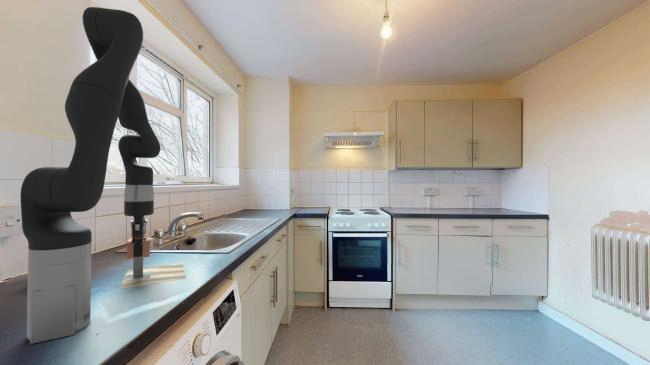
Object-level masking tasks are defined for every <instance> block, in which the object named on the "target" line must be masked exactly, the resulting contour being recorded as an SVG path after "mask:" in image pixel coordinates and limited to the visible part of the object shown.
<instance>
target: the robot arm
mask: <svg viewBox="0 0 650 365" xmlns="http://www.w3.org/2000/svg"><path fill="white" fill-rule="evenodd" d="M82 25H83V29H84V31H85V32H84V33H85V35H86V37H87V41H88V42H89V45H90V47H91V49H92V52H93V54H94V57H95V59H96V61H94V62H93V63H92V64H90V65H88V67H86V68H85V69H83V70H82V71H81V72H79V74H77V75H76V76H75V77H74V79H73V81H72V83H71V85H70V88H69V90H68V93H67V94H68V95H67V97H66V99H65V104H64V111H65V115H66V118H67V121H68V124H69V125H70V127H71V130H72V132H73V135H74V138H75V146H74V151H73V155H72V156H71V157H72V158H71V161H70V162H69V163H70V164H69V165H68V166H50V167H49V166H43V167H39V168H38V167H37V168H36V169H33V170H31V171H30V172H28V173H27V174H26V176H25V177H24V179H23V180H22V184H21V188H20V212H21V214H20V215H21V227H22V233H23V235H24V237H25V239H26V240H27V243H28V244H27V245H28V248H27V249H28V251H27V252H28V255H27V261H28V262H27V304H26V306H27V307H26V321H27V322H26V339H27V340H28V341H29V345H31V344H35V343H42V342H47V341H50V340H54V339H55V340H56V339H60V338H64V337H69V336H73V335H74V336H75V334H76V333H77V332H78V331H80V330H82V329H85V327H87V326H88V325H89V324H90V322H91V307H92V305H91V300H92V298H91V297H92V296H91V295H92V294H91V291H92V286H91V285H92V282H91V281H92V235H93V234H92V231H91V229H90V228H89V227H87V226H84V225H82V224H80V223H78V222H77V221H76V220H74V218H73V217H72V213H83V212H84V213H85V212H87V211H90V210H92V209H93V208H94V207H96V206H97V204H98V203H99V201H100V200H101V197H102V194H103V192H104V187H105V181H106V175H107V169H108V168H107V167H108V159H109V153H110V148H111V144H112V140H113V137H114V132H115V130H116V129H115V128H116V124H117V122H119V124H120V126H121V127H122V128H124V129H126V130H129V131H134V132H135V133H137V134H125V135H124V134H123V136H121V137H120V139H119V140H118V144H117V145H118V151H119V154H120V157H121V160H122V164H123V168H124V170H125V178H124V179H125V182H124V183H125V186H124V192H123V193H124V194H123V197H124V198H123V199H124V200H123V215H124V216H126V217H133V220H131V221H130V228H131V230H130V231H131V235H130V236H131V237H132V238H131V239H132V244H133V245H134V249H133V256H134V257H141V256H142V255H143V243H144V241H143V238H145V237H146V234H147V226H148V220H147V219H146V218H145V216H152V215H154V212H155V205H154V204H155V191H154V170H153V169H154V168H152V167H151V166H148V165H143V164H140V163H139V162H138V160H137V159H138V158H139V159H153V158H154V159H155V158H157V157H158V156H159V155H160V153H161V144H160V140H159V139H158V137H157V135H156V133H155V131H154V130H153V128H152V126H151V124H150V120H149V118H148V113H147V110H146V109H147V108H146V104H145V101H144V99H143V96H142V93H140V91H139V90H138V88H137V87H136V85H134V83H133V82H132V81H131V80H130V76H131V73H132V70H133V67H134V65H135V63H136V61H137V59H138V57H139V54H140V52H141V49H142V45H143V41H144V31H143V26H142V23H141V21H140V19H139V18H138V17H137V16H136V15H135V14H133V13H132V12H130V11H129V12H128V11H126V10H122V9H114V8H113V9H112V8H104V7H97V6H89V7H87V8H85V9H84V11H83V14H82ZM135 238H141V239H135Z"/></svg>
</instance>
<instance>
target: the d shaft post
mask: <svg viewBox="0 0 650 365" xmlns="http://www.w3.org/2000/svg"><path fill="white" fill-rule="evenodd" d="M132 261H133V262H132V269H133V278H137V277H143V268H144V257H142V258H134V259H132Z"/></svg>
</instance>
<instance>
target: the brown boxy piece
mask: <svg viewBox="0 0 650 365" xmlns="http://www.w3.org/2000/svg"><path fill="white" fill-rule="evenodd" d="M135 239H141V238H135ZM143 241H144V243H143V255H142V256H141V257H134V256H133V249H134V245H133V244H132V238H128V240H127V241H126V260H131V259H132V260H133V259H134V258H142V257H143V258H149V257H151V256H150V254H151V247H154V238H153V237H150V236H147V237H146V236H145V238H143Z"/></svg>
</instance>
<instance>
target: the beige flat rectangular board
mask: <svg viewBox="0 0 650 365" xmlns="http://www.w3.org/2000/svg"><path fill="white" fill-rule="evenodd" d="M185 279H187V277H186V271H185V268H184V264H183V262H180V263H179V262H178V263H173V264H172V263H171V264H164V265H156V266H149V267H143V277H137V278H133V268H132V269H127V271H126V272H125V276H124V278H123V281H122V283H121V286H120V287H119V289H126V288H127V289H128V288H133V287H141V286H146V285H147V286H148V285H152V284H153V285H154V284H159V283H166V282H173V281H178V280H179V281H180V280H185Z"/></svg>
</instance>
